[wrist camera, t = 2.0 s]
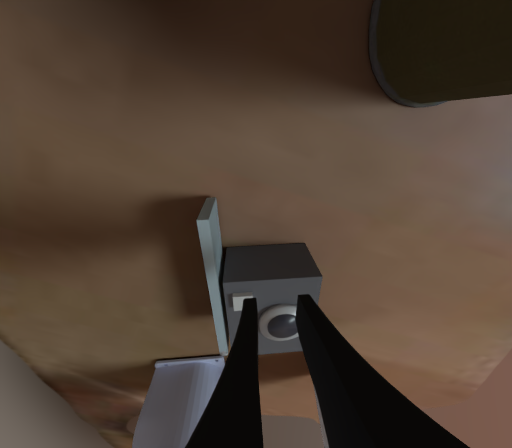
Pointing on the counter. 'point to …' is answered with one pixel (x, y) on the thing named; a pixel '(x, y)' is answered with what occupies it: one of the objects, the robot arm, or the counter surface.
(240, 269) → the camera body
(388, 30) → the canister
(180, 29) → the counter surface
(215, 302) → the side door
